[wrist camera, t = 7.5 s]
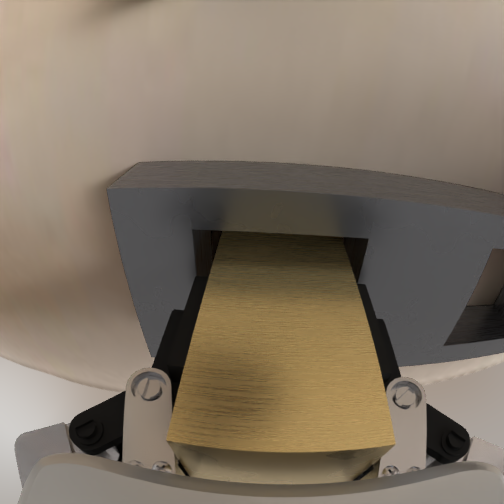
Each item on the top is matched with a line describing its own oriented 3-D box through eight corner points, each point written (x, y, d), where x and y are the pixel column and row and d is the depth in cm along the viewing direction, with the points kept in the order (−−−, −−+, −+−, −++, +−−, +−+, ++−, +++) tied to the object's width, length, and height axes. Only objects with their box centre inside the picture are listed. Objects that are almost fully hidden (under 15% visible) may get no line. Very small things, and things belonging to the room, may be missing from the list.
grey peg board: (560, 210, 11) (587, 235, 8) (509, 318, 16) (526, 347, 13) (139, 162, 12) (106, 188, 9) (166, 316, 17) (151, 356, 14)
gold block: (341, 237, 11) (395, 444, 5) (323, 320, 14) (339, 490, 7) (222, 230, 12) (165, 440, 5) (226, 316, 14) (197, 486, 7)
